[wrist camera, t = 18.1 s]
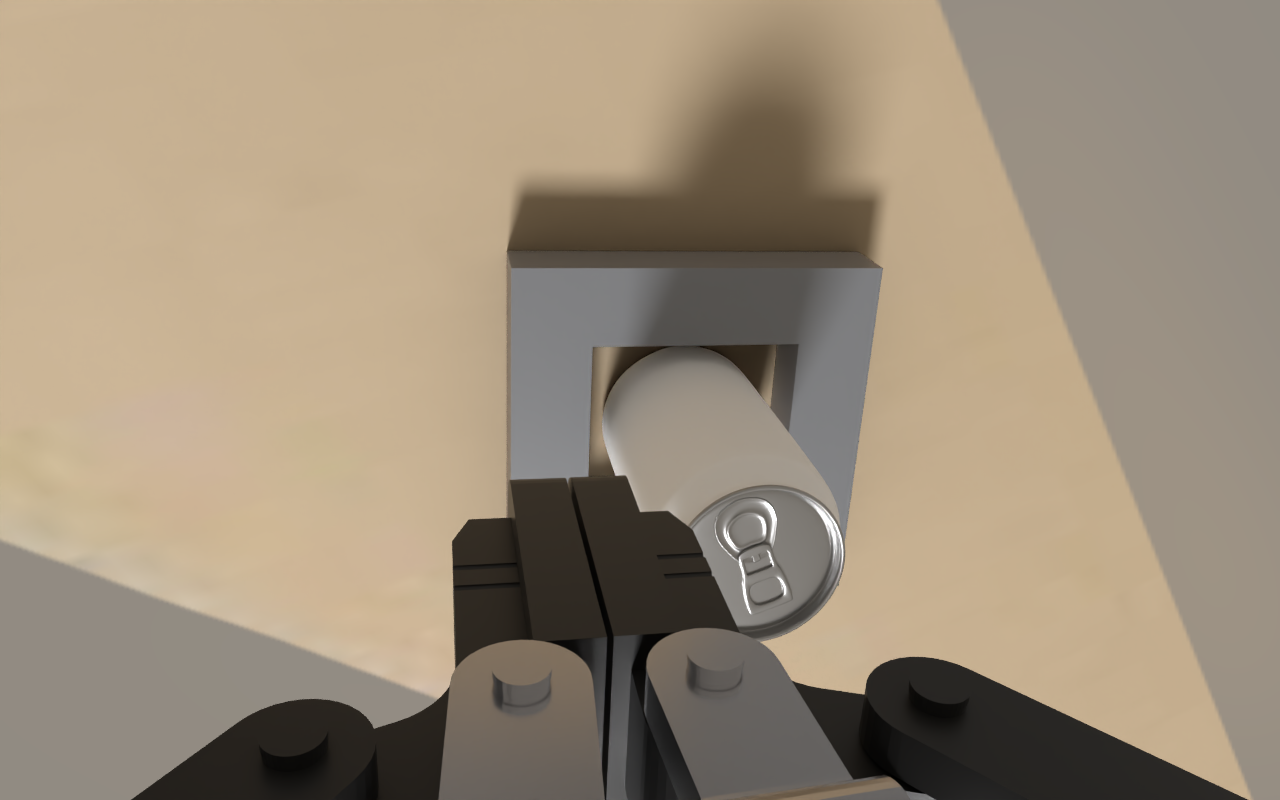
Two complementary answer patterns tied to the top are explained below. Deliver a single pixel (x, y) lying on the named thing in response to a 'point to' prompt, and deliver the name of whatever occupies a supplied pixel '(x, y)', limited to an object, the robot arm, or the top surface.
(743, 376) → the can
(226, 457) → the top surface
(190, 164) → the top surface
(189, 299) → the top surface
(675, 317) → the socket plate
